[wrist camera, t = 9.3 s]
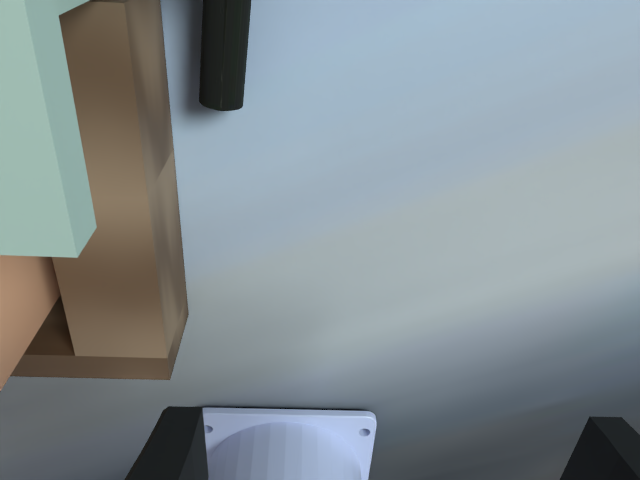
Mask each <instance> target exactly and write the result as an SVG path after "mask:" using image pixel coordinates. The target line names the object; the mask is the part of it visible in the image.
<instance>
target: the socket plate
mask: <svg viewBox="0 0 640 480" xmlns="http://www.w3.org/2000/svg"><path fill="white" fill-rule="evenodd" d="M59 21H60V26H61V32H62V38H63V43H64V49H65V54H66V60H67V65H68V71H69V76H70V82H71V87H72V93H73V98H74V104H75V109H76V115H77V120H78V126H79V132H80V137H81V143H82V148H83V154H84V159H85V165H86V170H87V176H88V181H89V187H90V192H91V198H92V203H93V209H94V214H95V220H96V226H97V228H96V229H95V231H94V233H93V234H92V236H91V237H90V239H89V240H88V242H87V244H86V245H85V247H84V248H83V250H82V251H81V253H80V255H79V256H78V258H72V257H52V260H53V264H54V268H55V272H56V276H57V281H58V285H59V289H60V293H61V294H60V296H59V298H58V299H57V301H56V302H55V304H54V306H53V307H52V309H51V311H50V312H49V314H48V315H47V317H46V319H45V320H44V322H43V323H42V325H41V327H40V328H39V330H38V332H37V333H36V335H35V336H34V338H33V340H32V341H31V343H30V344H29V346H28V348H27V349H26V351H25V353H24V354H23V356H22V357H21V359H20V361H19V362H18V364H17V365H16V367H15V369H14V370H13V372H12V374H11V375H10V376H25V377H68V378H110V379H152V380H170V378H171V374H172V371H173V367H174V364H175V360H176V357H177V353H178V350H179V346H180V343H181V339H182V336H183V332H184V328H185V325H186V321H187V318H188V304H187V293H186V282H185V271H184V259H183V248H182V237H181V226H180V215H179V204H178V193H177V182H176V170H175V159H174V148H173V137H172V126H171V115H170V104H169V93H168V81H167V70H166V59H165V48H164V37H163V26H162V15H161V4H160V0H89V1H87V2H85V3H83V4H81V5H79V6H77V7H75V8H73V9H71V10H69V11H67V12H65V13H63V14H61V15H59Z"/></svg>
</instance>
